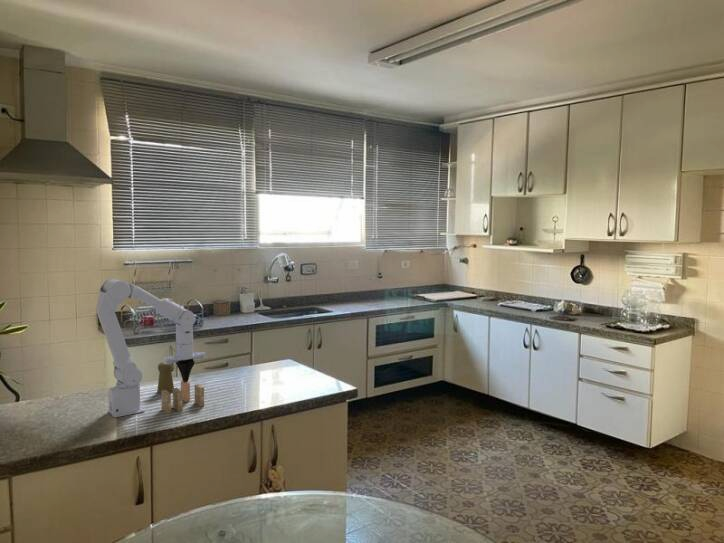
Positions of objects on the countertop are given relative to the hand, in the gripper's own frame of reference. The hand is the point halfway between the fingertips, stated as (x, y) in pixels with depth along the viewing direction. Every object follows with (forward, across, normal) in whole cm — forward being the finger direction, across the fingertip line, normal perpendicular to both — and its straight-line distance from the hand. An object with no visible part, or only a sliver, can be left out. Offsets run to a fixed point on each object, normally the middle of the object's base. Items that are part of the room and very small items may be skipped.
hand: (185, 380), depth 193 cm
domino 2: (+7, 0, 0) cm, 7 cm away
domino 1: (+7, +10, +8) cm, 14 cm away
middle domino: (+7, +6, +8) cm, 12 cm away
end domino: (+7, -2, +8) cm, 11 cm away
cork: (+7, +3, -13) cm, 15 cm away
